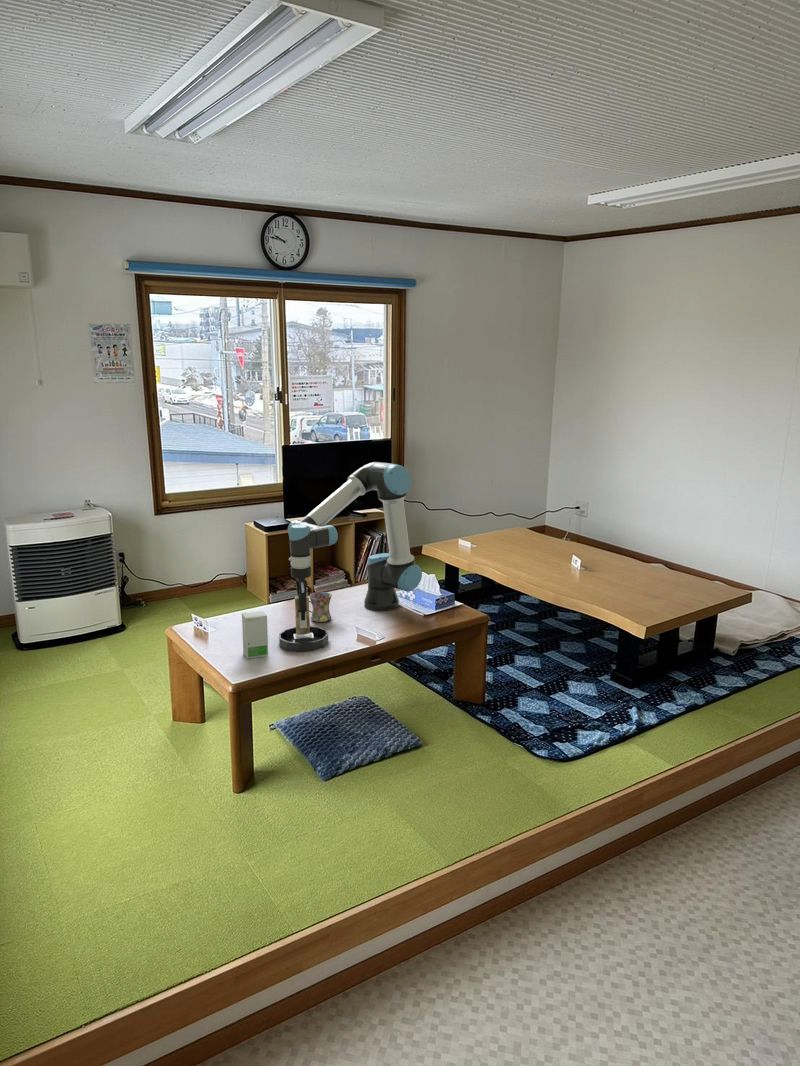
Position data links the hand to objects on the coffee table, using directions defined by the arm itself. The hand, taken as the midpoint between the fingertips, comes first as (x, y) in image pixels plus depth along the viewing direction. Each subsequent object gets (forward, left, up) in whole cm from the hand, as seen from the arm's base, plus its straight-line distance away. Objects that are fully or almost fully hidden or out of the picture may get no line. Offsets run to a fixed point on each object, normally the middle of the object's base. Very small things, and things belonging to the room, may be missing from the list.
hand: (302, 626), depth 283 cm
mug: (-8, -25, -7) cm, 27 cm away
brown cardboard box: (0, 0, -3) cm, 3 cm away
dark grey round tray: (0, 0, -7) cm, 7 cm away
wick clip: (0, 0, -7) cm, 7 cm away
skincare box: (+18, +7, -7) cm, 21 cm away
